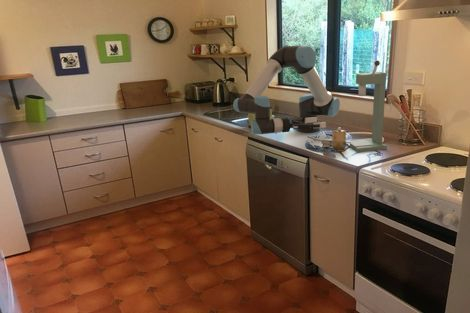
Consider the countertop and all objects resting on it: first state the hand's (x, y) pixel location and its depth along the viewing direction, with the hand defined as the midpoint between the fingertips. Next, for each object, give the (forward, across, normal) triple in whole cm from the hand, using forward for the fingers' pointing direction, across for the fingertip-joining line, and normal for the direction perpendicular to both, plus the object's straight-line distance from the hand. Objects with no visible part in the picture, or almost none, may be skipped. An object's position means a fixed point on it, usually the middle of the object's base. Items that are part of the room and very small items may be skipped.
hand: (321, 122), depth 194 cm
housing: (+10, 0, -16) cm, 19 cm away
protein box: (-21, -64, -16) cm, 70 cm away
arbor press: (+25, 0, -16) cm, 30 cm away
